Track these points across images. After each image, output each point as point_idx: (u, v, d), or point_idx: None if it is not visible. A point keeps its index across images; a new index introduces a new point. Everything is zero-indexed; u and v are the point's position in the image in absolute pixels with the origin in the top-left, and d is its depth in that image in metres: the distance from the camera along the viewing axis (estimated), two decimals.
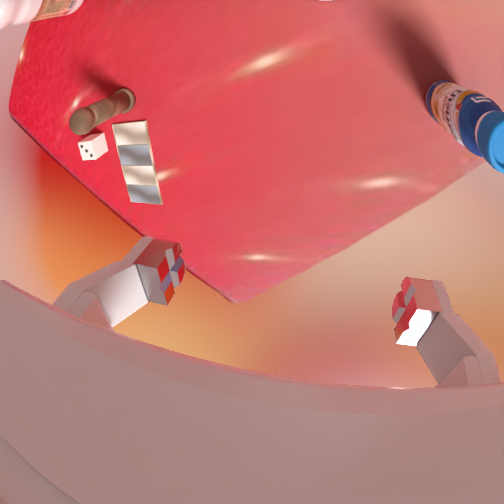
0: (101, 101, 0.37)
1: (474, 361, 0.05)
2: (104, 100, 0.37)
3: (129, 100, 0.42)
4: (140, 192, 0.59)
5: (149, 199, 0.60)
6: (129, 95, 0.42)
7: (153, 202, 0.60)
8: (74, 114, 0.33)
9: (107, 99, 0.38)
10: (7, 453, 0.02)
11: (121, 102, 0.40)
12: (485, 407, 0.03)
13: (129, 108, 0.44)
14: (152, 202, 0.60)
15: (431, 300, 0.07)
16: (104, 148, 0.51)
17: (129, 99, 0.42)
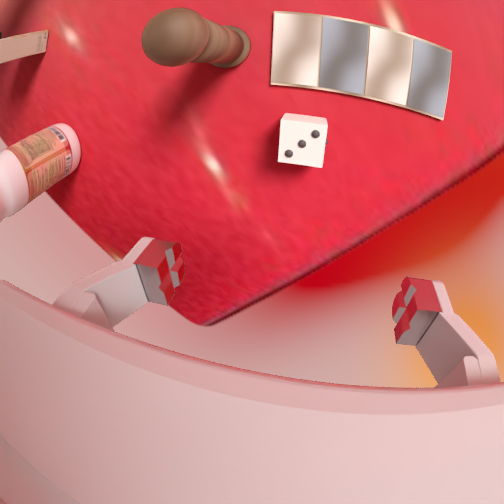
0: None
1: (475, 361, 0.05)
2: None
3: None
4: (427, 84, 0.21)
5: (441, 71, 0.19)
6: None
7: (447, 66, 0.18)
8: None
9: None
10: (7, 453, 0.02)
11: None
12: (485, 407, 0.03)
13: (241, 33, 0.22)
14: (447, 68, 0.19)
15: (431, 300, 0.07)
16: (315, 118, 0.26)
17: None
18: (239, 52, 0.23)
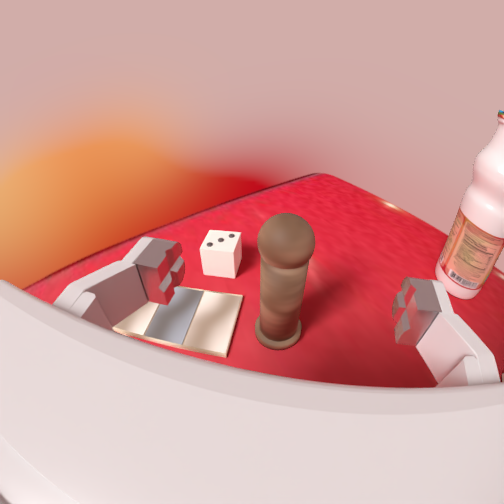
0: (302, 291, 0.25)
1: (475, 361, 0.05)
2: (301, 297, 0.25)
3: (276, 339, 0.28)
4: None
5: None
6: (285, 341, 0.28)
7: None
8: (310, 229, 0.22)
9: (299, 303, 0.26)
10: (7, 453, 0.02)
11: (280, 325, 0.27)
12: (485, 407, 0.03)
13: (260, 334, 0.29)
14: None
15: (431, 300, 0.07)
16: (210, 269, 0.38)
17: (278, 340, 0.28)
18: None
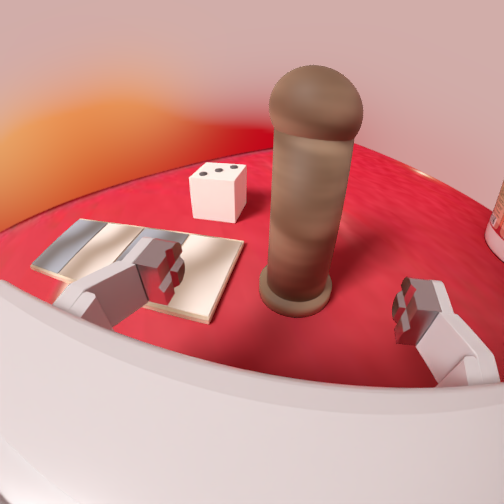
0: (342, 203, 0.14)
1: (475, 361, 0.05)
2: (339, 215, 0.15)
3: (292, 297, 0.18)
4: (75, 238, 0.24)
5: (54, 248, 0.23)
6: (307, 302, 0.18)
7: (44, 252, 0.22)
8: None
9: (336, 227, 0.15)
10: (7, 453, 0.02)
11: (302, 267, 0.16)
12: (485, 407, 0.03)
13: (267, 291, 0.19)
14: (46, 251, 0.23)
15: (431, 300, 0.07)
16: (202, 209, 0.27)
17: (296, 300, 0.18)
18: None
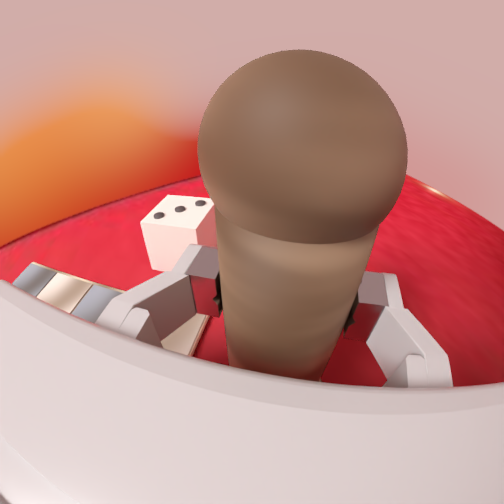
0: (344, 323, 0.08)
1: (421, 361, 0.05)
2: (337, 338, 0.08)
3: None
4: None
5: None
6: None
7: None
8: None
9: (330, 352, 0.09)
10: (7, 453, 0.02)
11: None
12: (485, 407, 0.03)
13: None
14: None
15: (378, 293, 0.07)
16: (161, 260, 0.21)
17: None
18: None
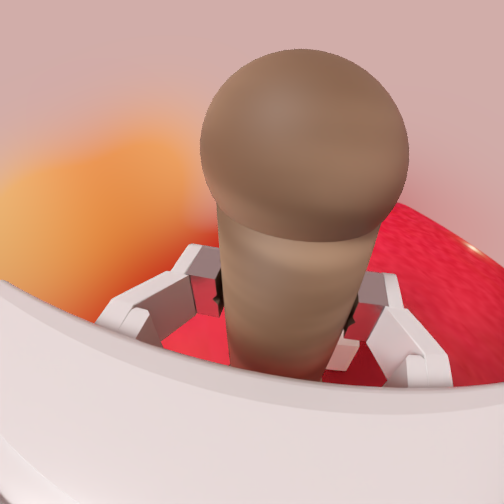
0: (345, 321, 0.08)
1: (421, 361, 0.05)
2: (338, 337, 0.08)
3: None
4: None
5: None
6: None
7: None
8: None
9: (332, 351, 0.09)
10: (7, 453, 0.02)
11: None
12: (485, 407, 0.03)
13: None
14: None
15: (378, 293, 0.07)
16: None
17: None
18: None
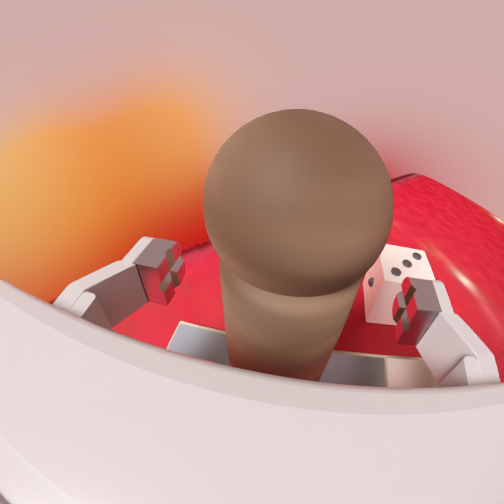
0: (333, 347, 0.09)
1: (474, 361, 0.05)
2: (327, 360, 0.09)
3: None
4: None
5: None
6: None
7: None
8: (381, 159, 0.06)
9: (322, 371, 0.10)
10: (7, 453, 0.02)
11: None
12: (485, 407, 0.03)
13: None
14: None
15: (431, 300, 0.07)
16: (383, 314, 0.19)
17: None
18: None
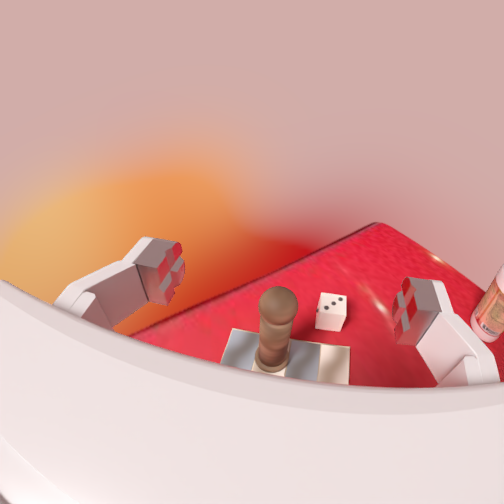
0: (288, 336, 0.35)
1: (475, 361, 0.05)
2: (287, 339, 0.35)
3: (269, 365, 0.38)
4: (243, 348, 0.42)
5: (230, 357, 0.41)
6: (276, 367, 0.38)
7: (223, 361, 0.40)
8: (294, 300, 0.32)
9: (286, 343, 0.36)
10: (7, 453, 0.02)
11: (272, 357, 0.37)
12: (485, 407, 0.03)
13: (258, 361, 0.39)
14: (224, 359, 0.40)
15: (431, 300, 0.07)
16: (322, 325, 0.45)
17: (271, 366, 0.38)
18: None
